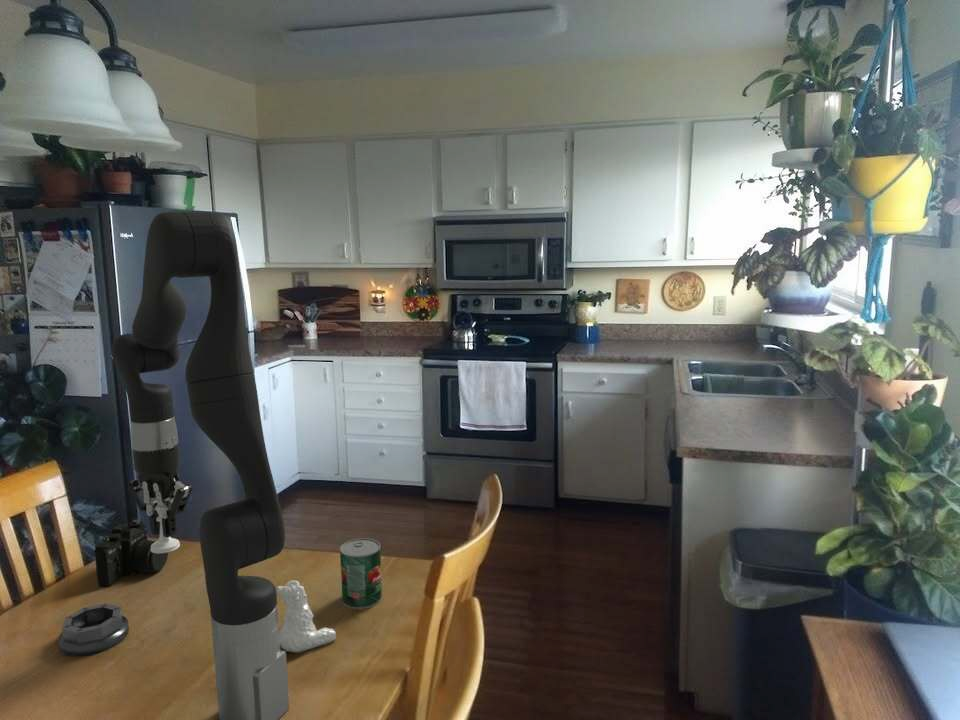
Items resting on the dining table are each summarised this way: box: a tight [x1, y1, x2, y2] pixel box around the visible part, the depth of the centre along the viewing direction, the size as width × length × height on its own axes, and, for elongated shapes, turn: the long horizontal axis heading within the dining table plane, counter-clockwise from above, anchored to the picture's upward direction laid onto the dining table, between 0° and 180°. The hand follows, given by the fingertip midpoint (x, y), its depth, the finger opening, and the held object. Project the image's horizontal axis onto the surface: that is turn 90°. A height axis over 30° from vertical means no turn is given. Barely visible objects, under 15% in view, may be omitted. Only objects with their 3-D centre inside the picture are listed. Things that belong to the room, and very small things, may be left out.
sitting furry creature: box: [276, 579, 337, 654], centre depth 119 cm, size 10×9×12 cm
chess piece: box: [151, 505, 181, 553], centre depth 124 cm, size 5×5×10 cm
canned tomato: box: [339, 537, 383, 610], centre depth 134 cm, size 8×8×11 cm
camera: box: [93, 519, 169, 588], centre depth 146 cm, size 14×11×10 cm
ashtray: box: [57, 603, 130, 657], centre depth 122 cm, size 11×11×4 cm
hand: (164, 534), depth 124 cm, fingers closed on chess piece
